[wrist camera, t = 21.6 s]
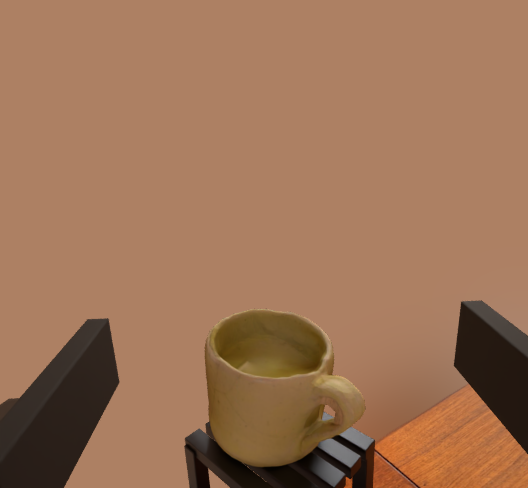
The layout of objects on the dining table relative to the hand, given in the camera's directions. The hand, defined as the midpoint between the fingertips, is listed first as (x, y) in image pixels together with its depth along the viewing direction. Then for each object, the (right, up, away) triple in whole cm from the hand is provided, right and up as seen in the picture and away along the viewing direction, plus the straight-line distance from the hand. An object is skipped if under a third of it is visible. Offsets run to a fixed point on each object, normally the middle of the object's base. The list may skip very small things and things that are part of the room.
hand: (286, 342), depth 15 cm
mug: (+1, -11, +15) cm, 19 cm away
